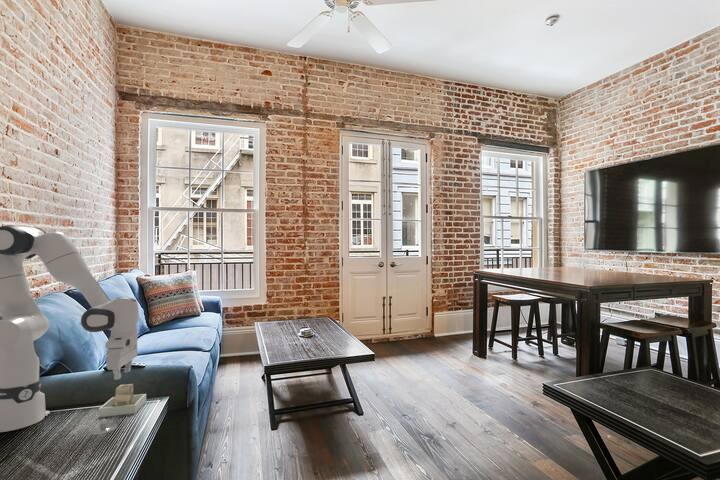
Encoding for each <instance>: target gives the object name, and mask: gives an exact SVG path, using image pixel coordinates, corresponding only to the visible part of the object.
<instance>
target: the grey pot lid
mask: <svg viewBox="0 0 720 480" xmlns="http://www.w3.org/2000/svg"><path fill="white" fill-rule="evenodd" d="M108 421H109V420H108V419H106V418H101V419H100V421H99V423H98V425H97V426H95V427H93V428H91V429H89V431H88V434H89V435H91V436H92V435H101V434H105V433H108V432H109V433H110V432H111V431H114V430H116V429H117V428H118V426H119V425H118V424H117V423H108Z"/></svg>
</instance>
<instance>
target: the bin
mask: <svg viewBox="0 0 720 480" xmlns="http://www.w3.org/2000/svg"><path fill="white" fill-rule="evenodd" d="M115 398H116V396H112V397H111V398H110V399H108V400H107V401H106V402H105V403H104V404H102V405H101V406H100V407H99V408H98V418H103V417H104V418H105V417H112V416H122V415H132V414H136V413H137V412H138V411H139V410H140V408H142V407H143V406H144V405H145V404H146V405H147V393H141V394H133V405H124V406H115Z"/></svg>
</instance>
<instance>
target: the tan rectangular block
mask: <svg viewBox="0 0 720 480" xmlns="http://www.w3.org/2000/svg"><path fill="white" fill-rule="evenodd" d="M133 395H134V383H127V384H120V385H119V386H117V387H116V388H115V397H116V398H115V405H114V406H124V405H134V403H133Z"/></svg>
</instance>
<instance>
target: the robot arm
mask: <svg viewBox="0 0 720 480" xmlns="http://www.w3.org/2000/svg"><path fill="white" fill-rule="evenodd" d="M36 256H38V258H40V260H41V261H42V263H43V265H44V266H45V268H46V270H47V271H48V273H49V274H50V275H51V276H52V277H53V278H54V279H55V280H56V281H57V282H59V283H63V284H66V285H68V286H70V287H73V288H74V289H77V290H79V292H81V294H82V295H83V297H84V298H85V300H86V301H87V302H88V304H89V306H90V307H91V308H88V309H87V310H86V311H85V312H84V313H82V315H81V318H80V325H81V326H82V328H83V329H84V330H85V331H86V332H89V333H100V332H103V331H107V330H108V331H109V330H110V336H109V338H108V340H107V341H106V342H105V349H107V350H106V354H105V358H106V363H105V364H106V368H107V370H108V371H111V370H112V372H113V375H114V376H113V379H114V380H115V381H117V380H120V379H121V378H122V373H121V369H122V367H123V366H124V369H123V372H124V373H129V372H131V367H132V363H133V360H134V359H135V358H137V356H138V336H139V335H138V333H139V328H138V320H139V304H138V301H137V300H136V299H135V298H134V297H129V296H116V297H115V298H113V299H110V298H109V296H108V295H107V294H106V292H105V291H104V290H103V288H102V286H100V284H99V283H98V281H97V280H96V278H95V277H94V276H93V274H92V273H91V271H90V269H89V268H88V265H87V264H86V262H85V260H84V258H83V257H82V255H81V253H80V251H79V250H78V249H77V247H76V245H74V243H73V242H72V240H70V238H69V237H68V236H67V235H66V234H65V233H63V232H61V231H48V232H47V231H45V230H44V229H42V228H41V227H40V228H39V227H34V226H29V225H13V224H10V225H9V224H7V225H2V226H0V316H1V317H2V319H0V433H4V432H11V431H15V430H16V431H17V430H20V429H24V428H27V427H29V426H33V425H34V424H38V423H39V422H41V421H42V420H43V419H44V418H45V416H46V417H47V416H49V415H50V414H51V413H50V412H51V411H50V410H46V398H45V397H46V396H45V393H43V392H41V391H40V390H41V386H42V384H41V379H40V358H39V356H38V355H37V353H36V349H35V345H34V341H37V340H38V339H40V338H41V337H42V336H44V335H45V333H46V332H47V331H48V330H49V327H50V320H49V318H48V317H47V316H45V315H44V314H43V312H42V311H41V309H40V307H39V306H38V304H37V302H36V300H35V299H34V297H33V295H32V293H31V289H30V286H29V283H28V280H27V276H26V272H25V270H24V266H23V262H24V260H29V259H32V258H34V257H36ZM48 414H49V415H48Z"/></svg>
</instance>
